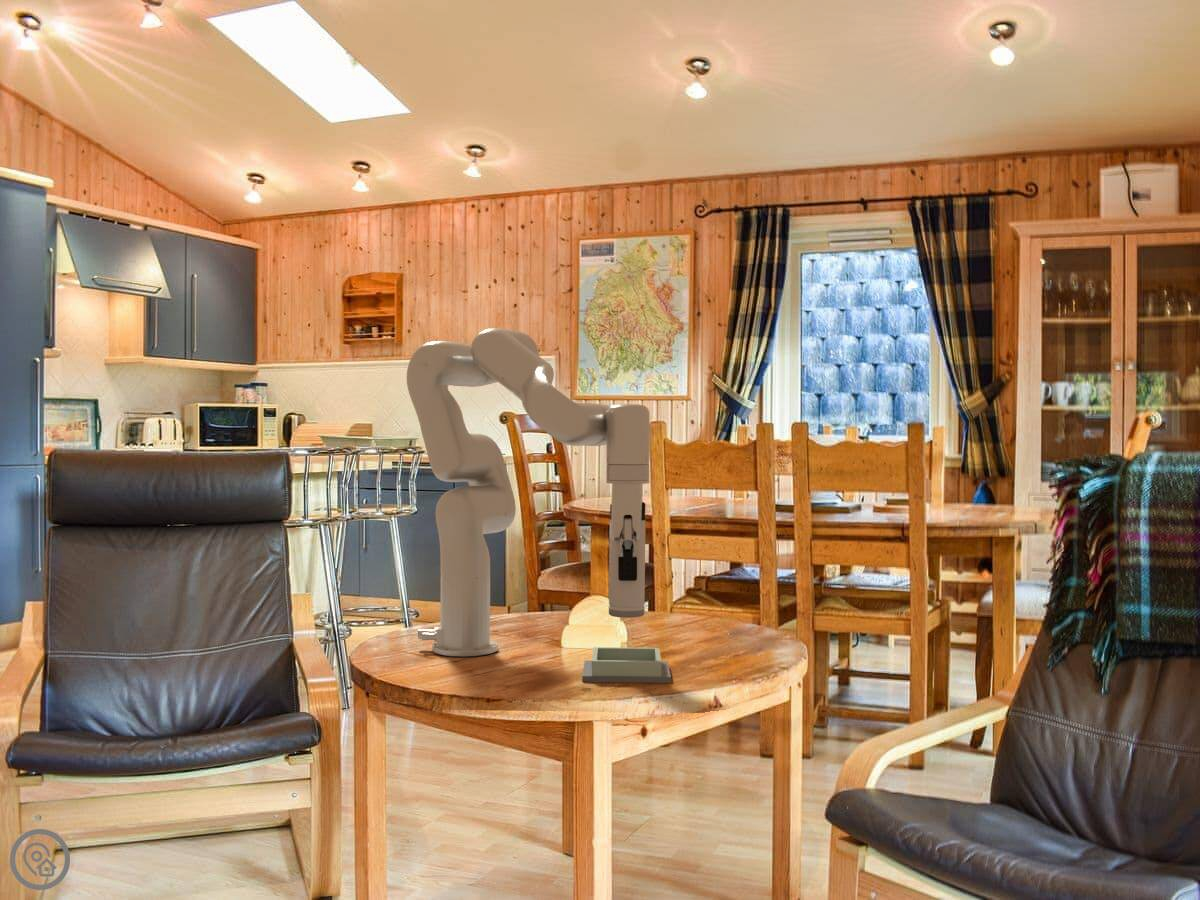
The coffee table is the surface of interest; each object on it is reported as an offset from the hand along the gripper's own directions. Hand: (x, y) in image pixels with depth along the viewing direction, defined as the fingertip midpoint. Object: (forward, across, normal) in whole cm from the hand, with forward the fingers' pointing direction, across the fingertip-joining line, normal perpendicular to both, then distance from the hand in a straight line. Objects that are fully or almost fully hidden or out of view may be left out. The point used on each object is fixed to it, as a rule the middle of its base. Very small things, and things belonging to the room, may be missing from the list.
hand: (627, 576), depth 187 cm
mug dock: (+17, 0, 0) cm, 17 cm away
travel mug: (+7, 0, 0) cm, 7 cm away
